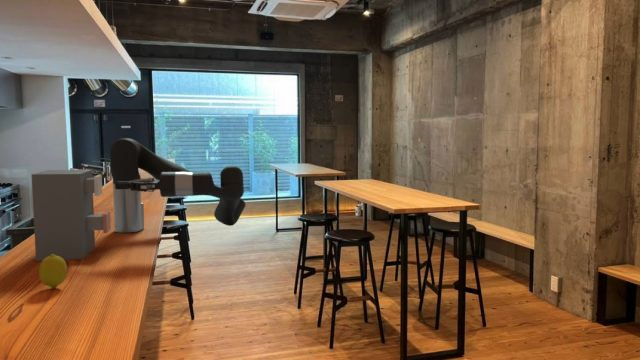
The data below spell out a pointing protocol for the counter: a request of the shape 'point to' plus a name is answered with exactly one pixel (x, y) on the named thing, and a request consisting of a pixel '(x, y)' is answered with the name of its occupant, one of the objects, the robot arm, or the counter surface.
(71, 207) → the grey dispenser box
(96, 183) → the upper plunger
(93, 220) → the lower plunger
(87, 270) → the counter surface
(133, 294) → the counter surface
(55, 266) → the lemon
